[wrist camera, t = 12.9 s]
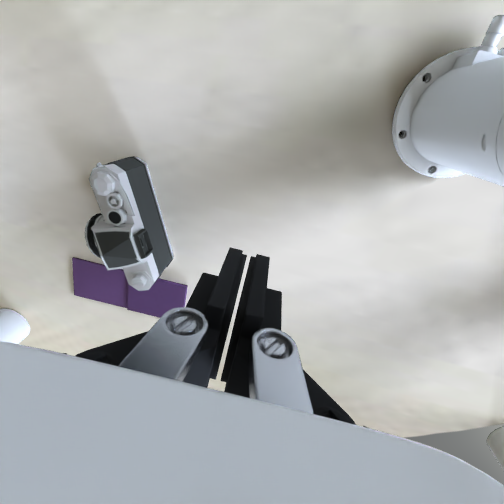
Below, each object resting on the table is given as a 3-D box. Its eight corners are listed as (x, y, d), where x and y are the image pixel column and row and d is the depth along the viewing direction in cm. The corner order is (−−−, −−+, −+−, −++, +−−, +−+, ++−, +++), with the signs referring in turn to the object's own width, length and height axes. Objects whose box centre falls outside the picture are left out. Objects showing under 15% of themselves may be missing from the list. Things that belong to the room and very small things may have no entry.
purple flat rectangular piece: (73, 257, 45) (70, 259, 45) (187, 285, 45) (186, 287, 45) (75, 294, 48) (73, 296, 48) (182, 320, 48) (181, 322, 48)
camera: (87, 160, 38) (27, 175, 29) (149, 150, 37) (106, 163, 28) (127, 267, 45) (88, 306, 36) (181, 262, 44) (154, 301, 35)
